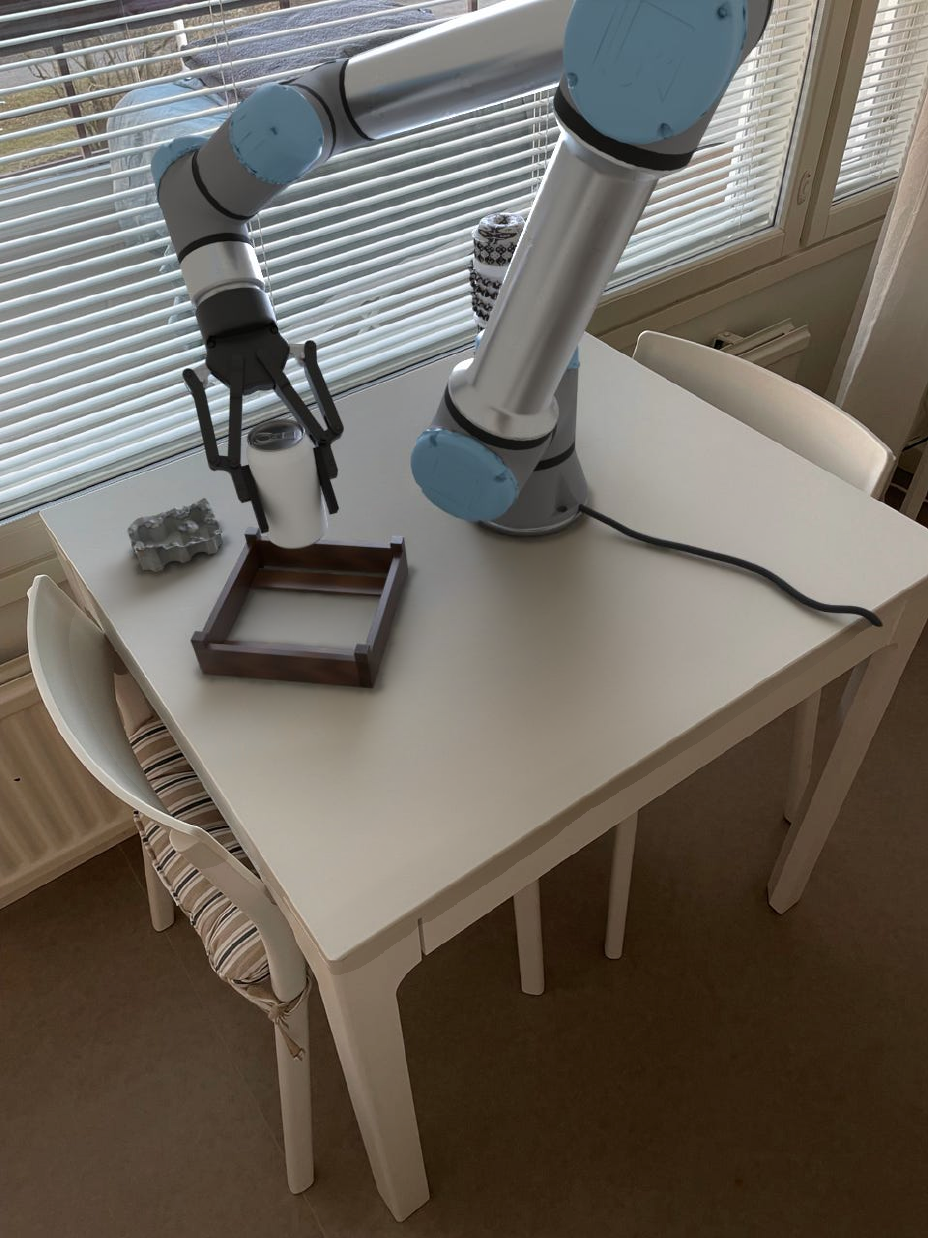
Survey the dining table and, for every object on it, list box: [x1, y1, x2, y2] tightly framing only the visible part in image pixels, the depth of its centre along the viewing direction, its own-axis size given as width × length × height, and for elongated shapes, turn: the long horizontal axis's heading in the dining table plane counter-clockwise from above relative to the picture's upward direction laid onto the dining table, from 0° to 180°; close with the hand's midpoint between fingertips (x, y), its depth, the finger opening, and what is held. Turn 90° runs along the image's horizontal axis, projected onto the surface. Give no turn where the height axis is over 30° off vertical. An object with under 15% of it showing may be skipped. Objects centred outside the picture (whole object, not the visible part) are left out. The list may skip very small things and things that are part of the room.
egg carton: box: [126, 497, 224, 572], centre depth 114 cm, size 11×8×4 cm
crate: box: [190, 526, 409, 689], centre depth 103 cm, size 19×19×5 cm
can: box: [245, 418, 329, 549], centre depth 94 cm, size 6×6×12 cm
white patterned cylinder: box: [467, 212, 527, 338], centre depth 130 cm, size 9×9×25 cm
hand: (299, 520), depth 93 cm, fingers closed on can, 6 cm apart
